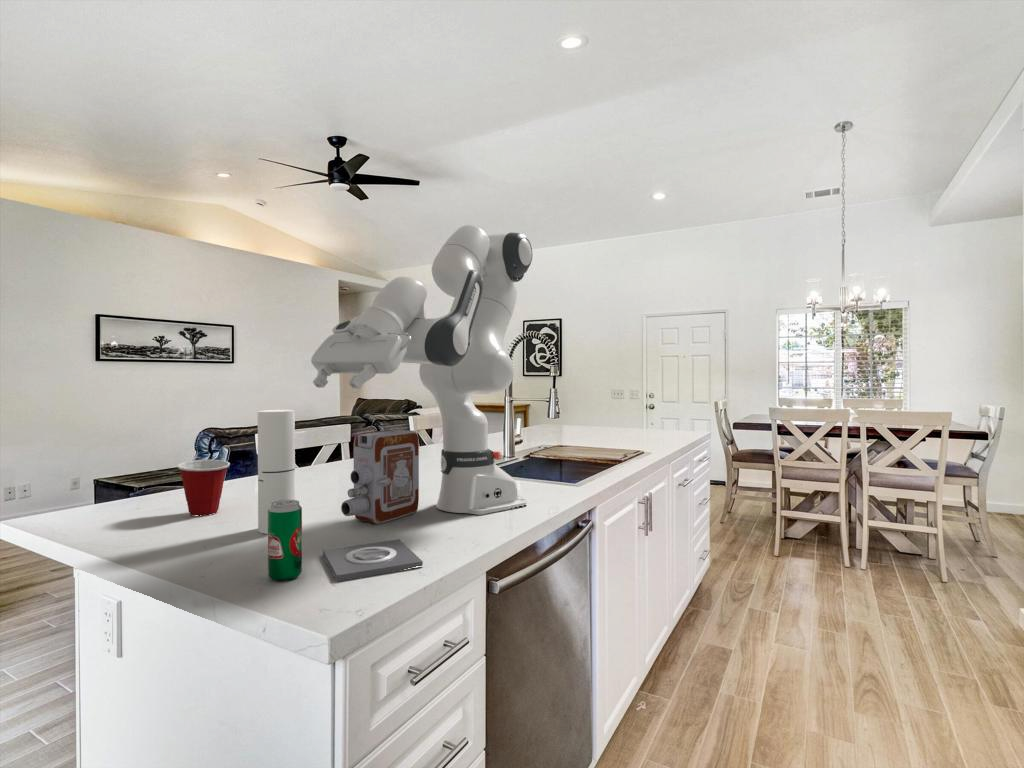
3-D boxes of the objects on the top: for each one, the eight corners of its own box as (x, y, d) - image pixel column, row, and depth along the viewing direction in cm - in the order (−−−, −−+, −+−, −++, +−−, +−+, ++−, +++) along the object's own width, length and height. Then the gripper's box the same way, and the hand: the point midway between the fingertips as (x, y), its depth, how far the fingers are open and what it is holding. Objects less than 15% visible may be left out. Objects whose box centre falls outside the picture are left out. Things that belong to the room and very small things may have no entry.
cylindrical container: (281, 535, 110) (281, 412, 110) (250, 533, 111) (249, 411, 111) (302, 525, 117) (301, 410, 117) (272, 523, 118) (272, 409, 118)
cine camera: (329, 526, 117) (329, 433, 116) (395, 507, 133) (395, 426, 132) (358, 533, 111) (358, 436, 111) (423, 513, 128) (423, 428, 127)
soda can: (262, 577, 87) (262, 502, 87) (293, 569, 91) (293, 497, 90) (276, 585, 84) (276, 508, 83) (307, 576, 87) (307, 502, 87)
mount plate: (399, 544, 104) (399, 538, 104) (422, 567, 92) (422, 560, 92) (323, 555, 97) (323, 548, 97) (336, 581, 85) (336, 574, 85)
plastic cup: (193, 522, 120) (192, 468, 119) (167, 515, 125) (167, 463, 125) (240, 511, 129) (239, 461, 129) (214, 505, 134) (214, 457, 134)
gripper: (422, 345, 103) (386, 399, 95) (347, 348, 114) (308, 396, 105) (406, 320, 99) (367, 373, 91) (329, 325, 110) (288, 373, 101)
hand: (335, 385), depth 98 cm, fingers open, 8 cm apart
